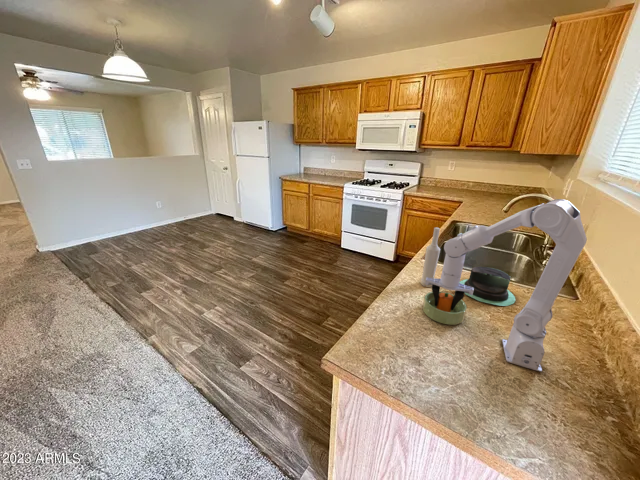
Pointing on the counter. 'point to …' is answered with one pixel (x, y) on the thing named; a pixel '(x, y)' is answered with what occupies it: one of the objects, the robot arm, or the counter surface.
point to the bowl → (442, 316)
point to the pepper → (444, 302)
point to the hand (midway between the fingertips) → (444, 306)
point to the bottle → (431, 259)
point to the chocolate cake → (490, 286)
